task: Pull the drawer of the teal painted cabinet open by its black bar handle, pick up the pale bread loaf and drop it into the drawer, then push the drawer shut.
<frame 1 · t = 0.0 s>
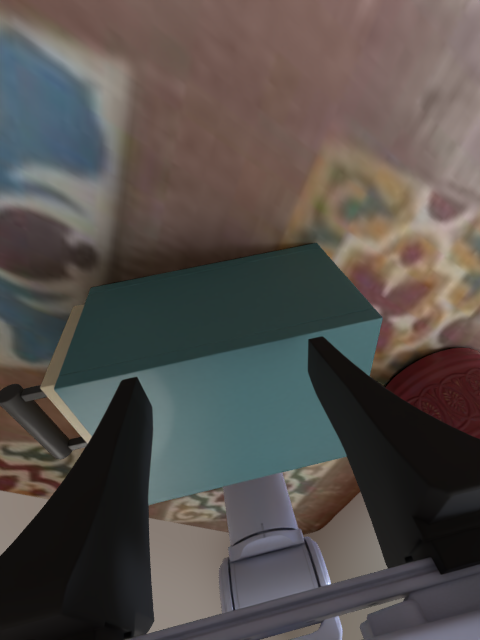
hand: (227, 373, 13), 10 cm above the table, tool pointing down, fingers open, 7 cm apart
drawer: (171, 390, 22), point 4 cm above the table, slide at 0.0 cm
kitchen canister: (427, 384, 36), on the table
cabinet: (222, 337, 25), on the table
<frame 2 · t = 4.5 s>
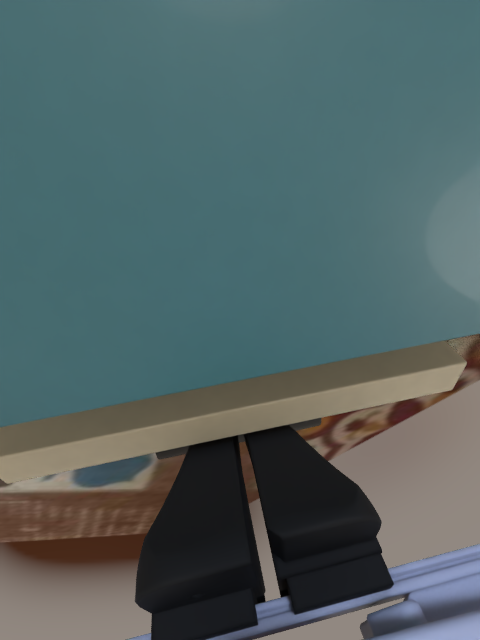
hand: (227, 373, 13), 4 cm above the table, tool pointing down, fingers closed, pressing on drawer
drawer: (205, 218, 8), point 4 cm above the table, slide at 2.1 cm, touching gripper
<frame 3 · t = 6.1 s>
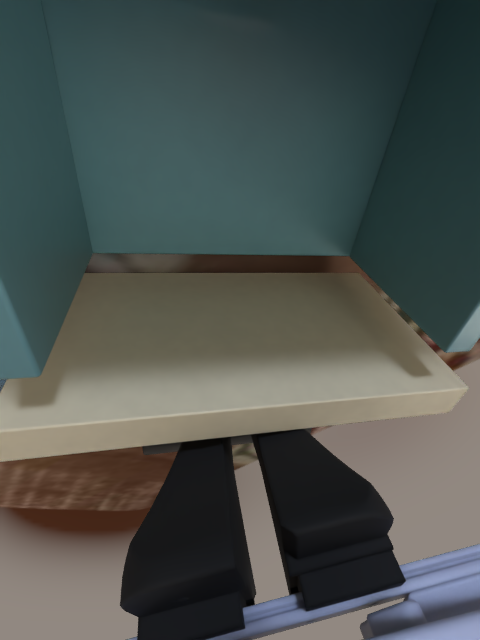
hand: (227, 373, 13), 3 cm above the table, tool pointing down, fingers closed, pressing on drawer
drawer: (253, 215, 8), point 4 cm above the table, slide at 8.4 cm, touching gripper
when the fingers open (6 cm above the table, at t = 16.4 s): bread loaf drops 2 cm, resting on drawer.
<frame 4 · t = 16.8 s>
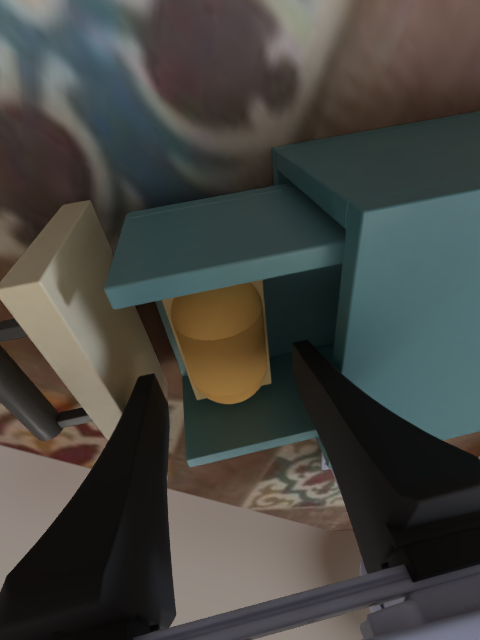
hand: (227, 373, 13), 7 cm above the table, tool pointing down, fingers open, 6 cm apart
drawer: (207, 338, 15), point 4 cm above the table, slide at 8.3 cm, touching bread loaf
cabinet: (401, 249, 19), on the table
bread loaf: (216, 307, 17), point 2 cm above the table, touching drawer
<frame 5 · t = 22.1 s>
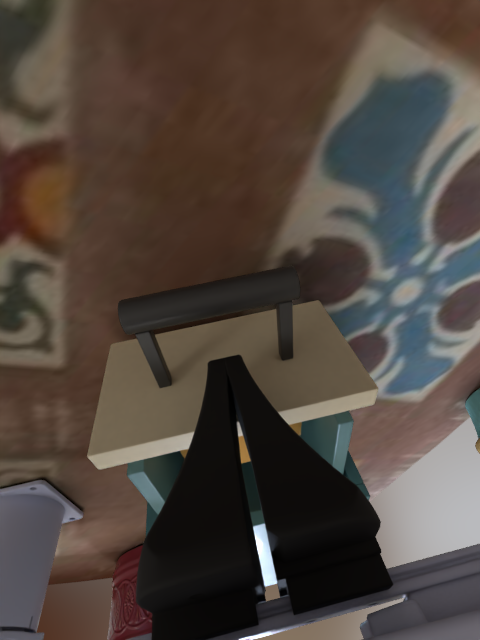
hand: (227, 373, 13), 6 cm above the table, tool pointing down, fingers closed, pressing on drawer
drawer: (237, 417, 18), point 4 cm above the table, slide at 8.2 cm, touching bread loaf, gripper
kitchen canister: (164, 553, 43), on the table
cabinet: (246, 452, 30), on the table
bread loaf: (232, 394, 21), point 2 cm above the table, touching drawer
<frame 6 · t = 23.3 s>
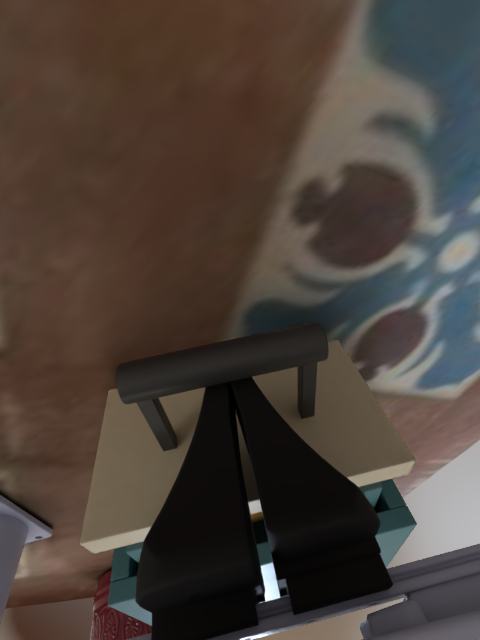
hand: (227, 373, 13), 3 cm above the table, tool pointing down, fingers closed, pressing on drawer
drawer: (248, 469, 17), point 4 cm above the table, slide at 3.2 cm, touching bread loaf, gripper
kitchen canister: (154, 570, 38), on the table
cabinet: (246, 458, 25), on the table
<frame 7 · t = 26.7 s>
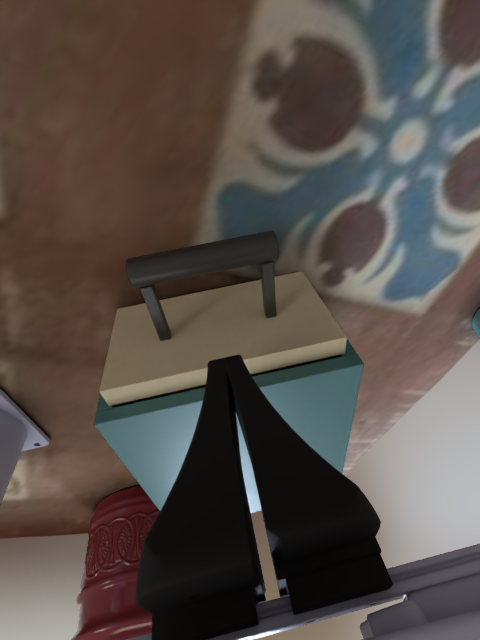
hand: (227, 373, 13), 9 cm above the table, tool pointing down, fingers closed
drawer: (229, 375, 21), point 4 cm above the table, slide at 0.0 cm, touching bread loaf, cabinet
kitchen canister: (147, 504, 40), on the table
cabinet: (228, 369, 27), on the table
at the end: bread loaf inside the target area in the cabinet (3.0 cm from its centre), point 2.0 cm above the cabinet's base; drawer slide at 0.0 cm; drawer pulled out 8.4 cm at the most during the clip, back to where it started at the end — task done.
